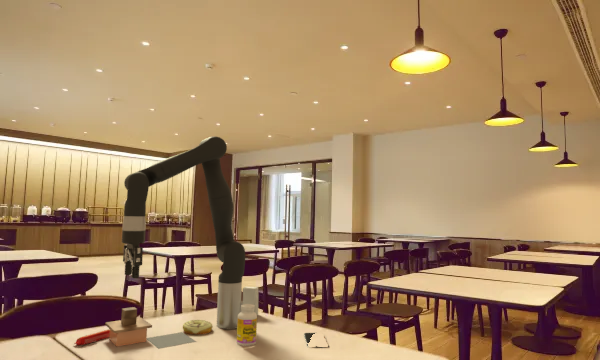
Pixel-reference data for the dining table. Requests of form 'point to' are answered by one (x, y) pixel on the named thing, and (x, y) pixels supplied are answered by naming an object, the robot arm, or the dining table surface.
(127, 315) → the lid
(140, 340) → the open box
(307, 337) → the smartphone
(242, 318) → the supplement bottle
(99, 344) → the dining table surface
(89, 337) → the candy bar
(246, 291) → the skincare box
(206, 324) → the decorated donut
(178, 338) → the mat
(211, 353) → the dining table surface
